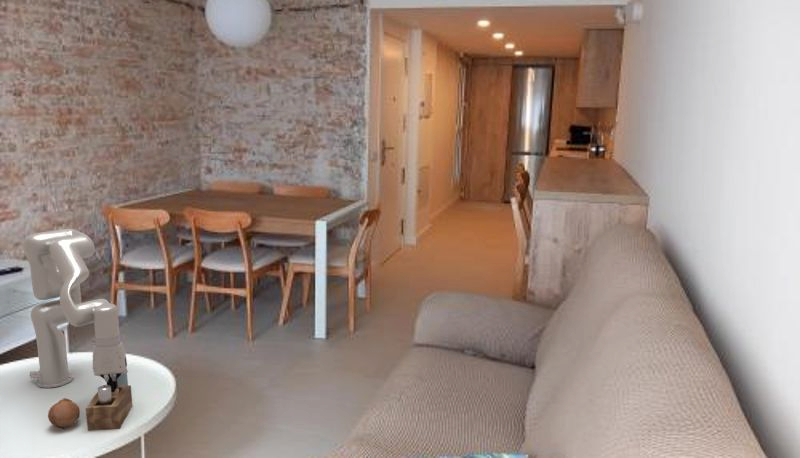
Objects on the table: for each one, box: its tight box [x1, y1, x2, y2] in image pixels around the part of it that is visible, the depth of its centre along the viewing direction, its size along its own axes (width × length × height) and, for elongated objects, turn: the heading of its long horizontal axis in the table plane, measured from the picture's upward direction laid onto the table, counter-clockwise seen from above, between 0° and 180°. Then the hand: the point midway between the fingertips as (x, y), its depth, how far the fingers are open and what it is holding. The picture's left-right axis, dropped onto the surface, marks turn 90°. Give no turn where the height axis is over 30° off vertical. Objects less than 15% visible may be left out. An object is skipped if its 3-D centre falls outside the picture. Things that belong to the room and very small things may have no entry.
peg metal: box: [97, 384, 112, 406], centre depth 215 cm, size 4×4×8 cm
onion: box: [47, 397, 81, 430], centre depth 215 cm, size 10×9×10 cm
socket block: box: [85, 384, 134, 432], centre depth 220 cm, size 10×16×8 cm, turn 8°
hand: (112, 390), depth 223 cm, fingers closed
